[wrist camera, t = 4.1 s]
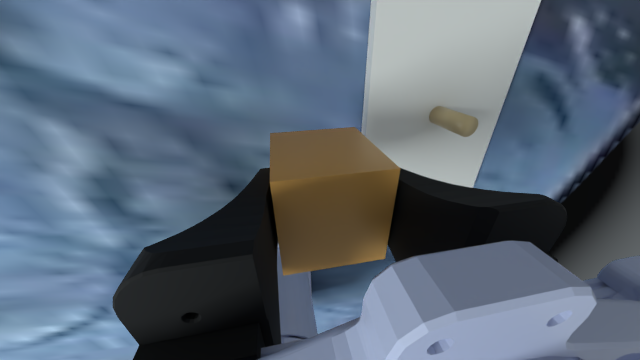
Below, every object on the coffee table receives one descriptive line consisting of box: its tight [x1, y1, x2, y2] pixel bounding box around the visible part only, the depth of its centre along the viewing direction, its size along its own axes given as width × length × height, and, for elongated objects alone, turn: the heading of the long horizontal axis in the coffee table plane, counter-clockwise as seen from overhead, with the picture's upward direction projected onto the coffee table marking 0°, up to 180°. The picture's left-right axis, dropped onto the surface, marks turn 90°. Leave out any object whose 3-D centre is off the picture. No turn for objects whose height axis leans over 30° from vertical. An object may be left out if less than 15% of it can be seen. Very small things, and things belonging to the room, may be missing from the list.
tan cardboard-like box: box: [270, 127, 401, 276], centre depth 11 cm, size 4×4×5 cm
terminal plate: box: [361, 0, 541, 188], centre depth 18 cm, size 16×12×4 cm
